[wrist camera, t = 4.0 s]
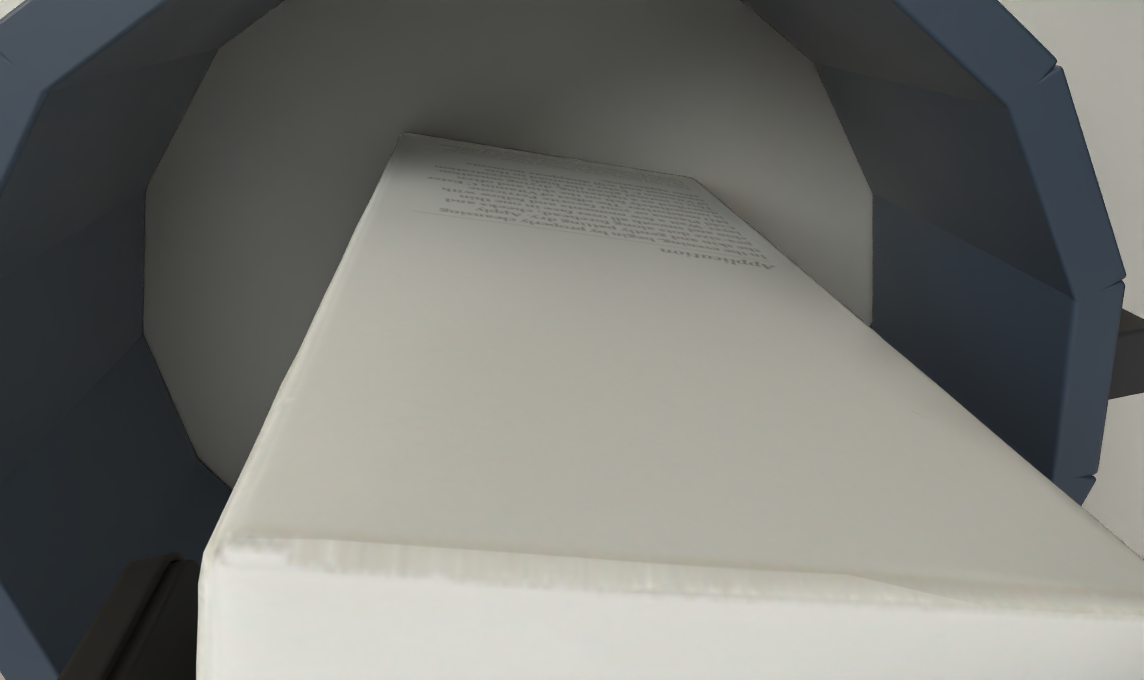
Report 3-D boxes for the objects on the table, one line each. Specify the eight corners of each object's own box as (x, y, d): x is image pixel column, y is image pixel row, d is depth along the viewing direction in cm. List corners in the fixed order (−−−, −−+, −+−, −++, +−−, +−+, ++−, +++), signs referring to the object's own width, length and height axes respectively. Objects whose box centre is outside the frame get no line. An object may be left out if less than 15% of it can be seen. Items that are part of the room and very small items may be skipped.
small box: (626, 487, 20) (849, 1233, 8) (368, 466, 19) (183, 1290, 7) (703, 168, 17) (1257, 620, 5) (397, 120, 16) (150, 551, 4)
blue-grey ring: (-124, -18, 14) (-579, -19, 8) (966, -214, 14) (1311, -351, 8) (229, 692, 21) (134, 966, 15) (934, 544, 22) (1105, 752, 16)
